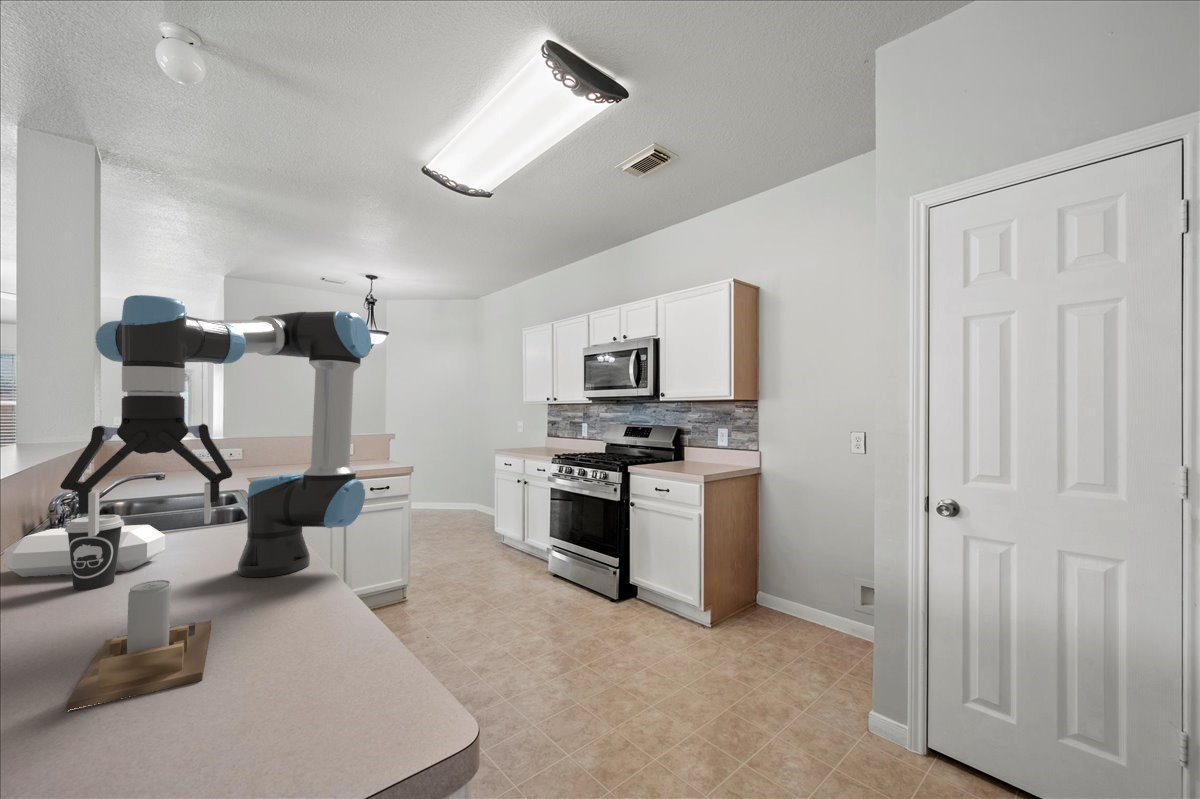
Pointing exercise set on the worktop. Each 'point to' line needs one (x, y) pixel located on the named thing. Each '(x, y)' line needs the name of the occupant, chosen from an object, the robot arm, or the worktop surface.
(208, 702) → the worktop surface
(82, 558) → the coffee cup
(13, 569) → the crystal
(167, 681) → the board
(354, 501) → the robot arm
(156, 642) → the beverage can
